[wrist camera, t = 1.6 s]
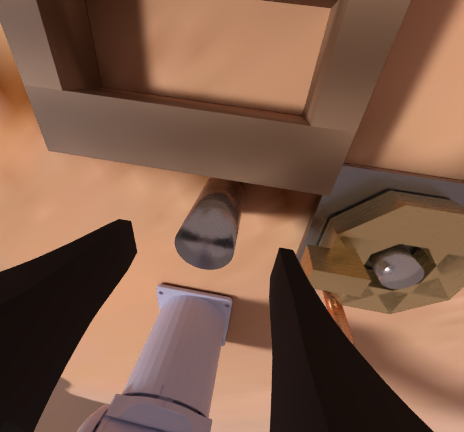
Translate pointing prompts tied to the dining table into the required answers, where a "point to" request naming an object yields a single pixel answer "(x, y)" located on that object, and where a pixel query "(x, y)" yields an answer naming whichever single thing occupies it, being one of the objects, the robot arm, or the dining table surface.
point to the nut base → (362, 190)
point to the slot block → (202, 113)
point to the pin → (212, 225)
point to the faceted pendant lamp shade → (385, 236)
